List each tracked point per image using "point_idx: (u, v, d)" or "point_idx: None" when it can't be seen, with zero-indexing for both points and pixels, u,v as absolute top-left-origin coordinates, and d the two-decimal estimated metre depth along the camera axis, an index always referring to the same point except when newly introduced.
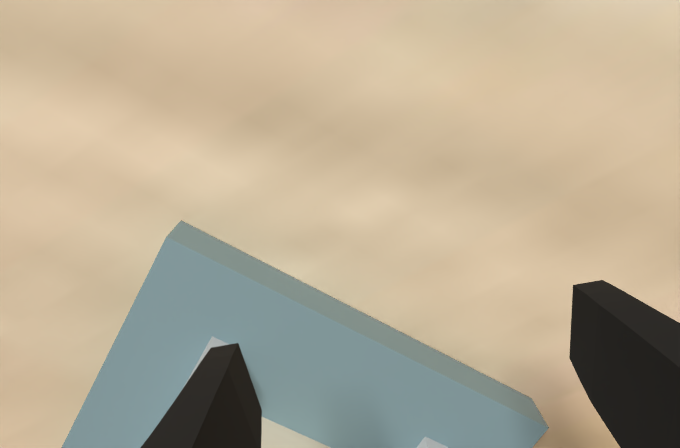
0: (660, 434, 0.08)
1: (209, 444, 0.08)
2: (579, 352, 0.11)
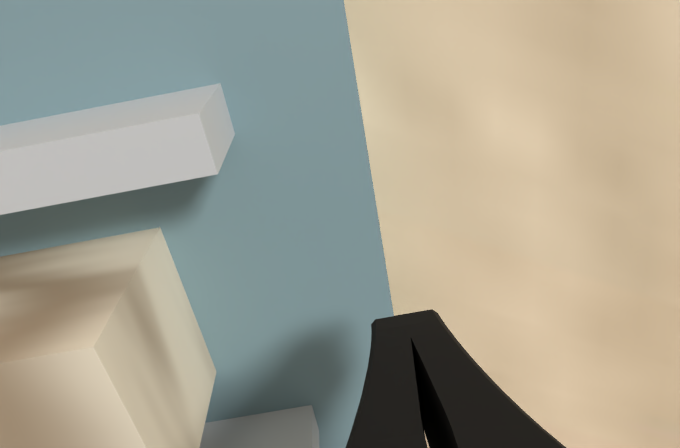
0: None
1: None
2: None
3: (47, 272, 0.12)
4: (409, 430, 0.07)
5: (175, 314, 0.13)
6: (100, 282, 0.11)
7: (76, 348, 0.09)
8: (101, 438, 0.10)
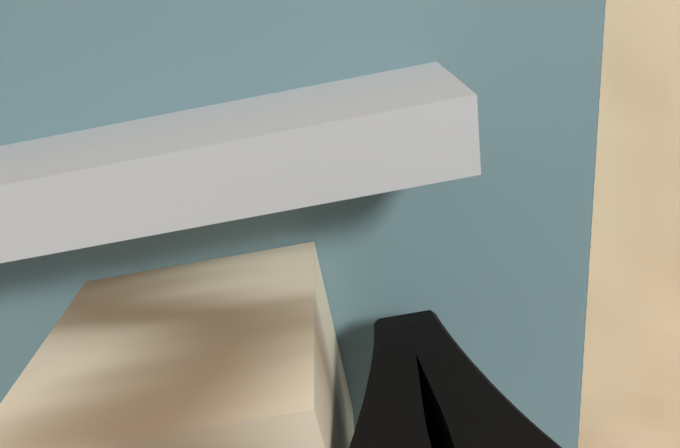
0: None
1: (423, 409, 0.08)
2: None
3: (193, 298, 0.10)
4: (413, 429, 0.07)
5: (332, 347, 0.11)
6: (273, 314, 0.09)
7: (291, 412, 0.07)
8: None
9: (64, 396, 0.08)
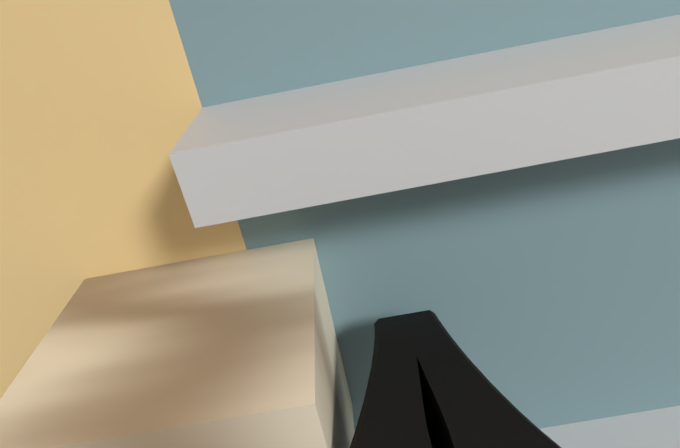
0: None
1: None
2: None
3: (193, 295, 0.10)
4: (413, 429, 0.07)
5: (332, 344, 0.11)
6: (273, 310, 0.09)
7: (291, 406, 0.07)
8: None
9: (64, 392, 0.08)
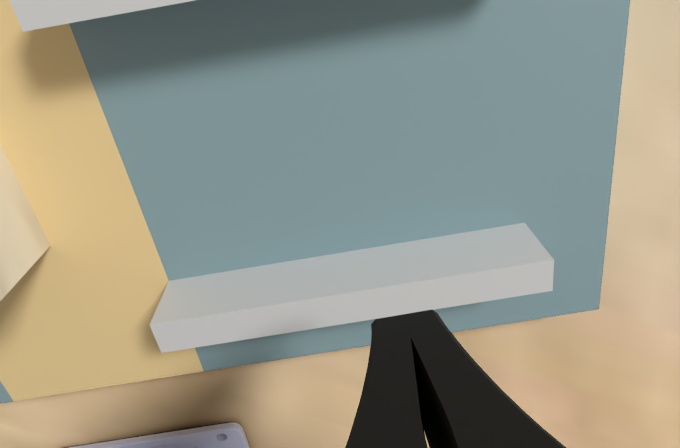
0: None
1: None
2: None
3: None
4: (409, 430, 0.07)
5: None
6: None
7: None
8: None
9: None
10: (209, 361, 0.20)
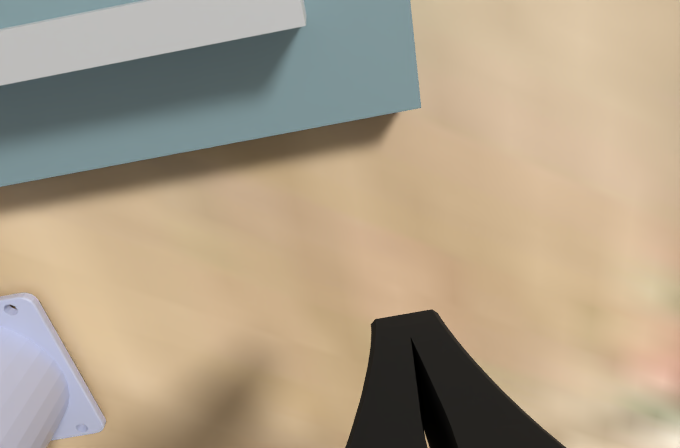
0: None
1: None
2: None
3: None
4: (409, 430, 0.07)
5: None
6: None
7: None
8: None
9: None
10: None
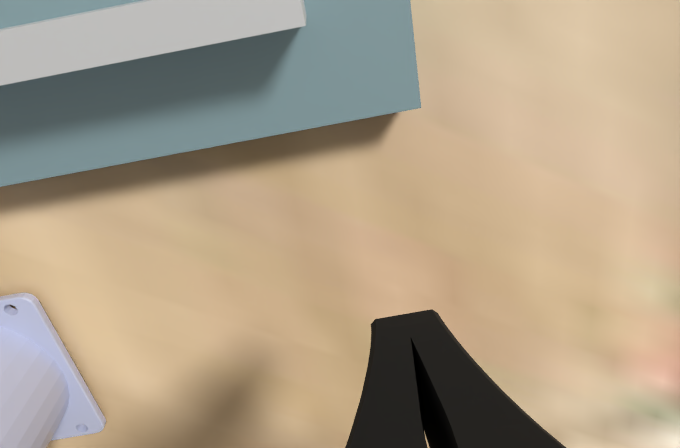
0: None
1: None
2: None
3: None
4: (409, 430, 0.07)
5: None
6: None
7: None
8: None
9: None
10: None
